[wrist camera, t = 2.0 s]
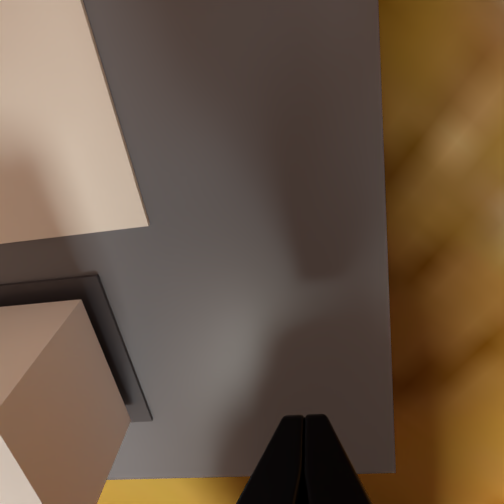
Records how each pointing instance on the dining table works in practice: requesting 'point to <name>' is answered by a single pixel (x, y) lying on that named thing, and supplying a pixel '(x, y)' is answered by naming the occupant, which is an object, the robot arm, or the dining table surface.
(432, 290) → the dining table surface
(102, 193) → the switch board
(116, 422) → the peach cube
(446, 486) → the dining table surface
